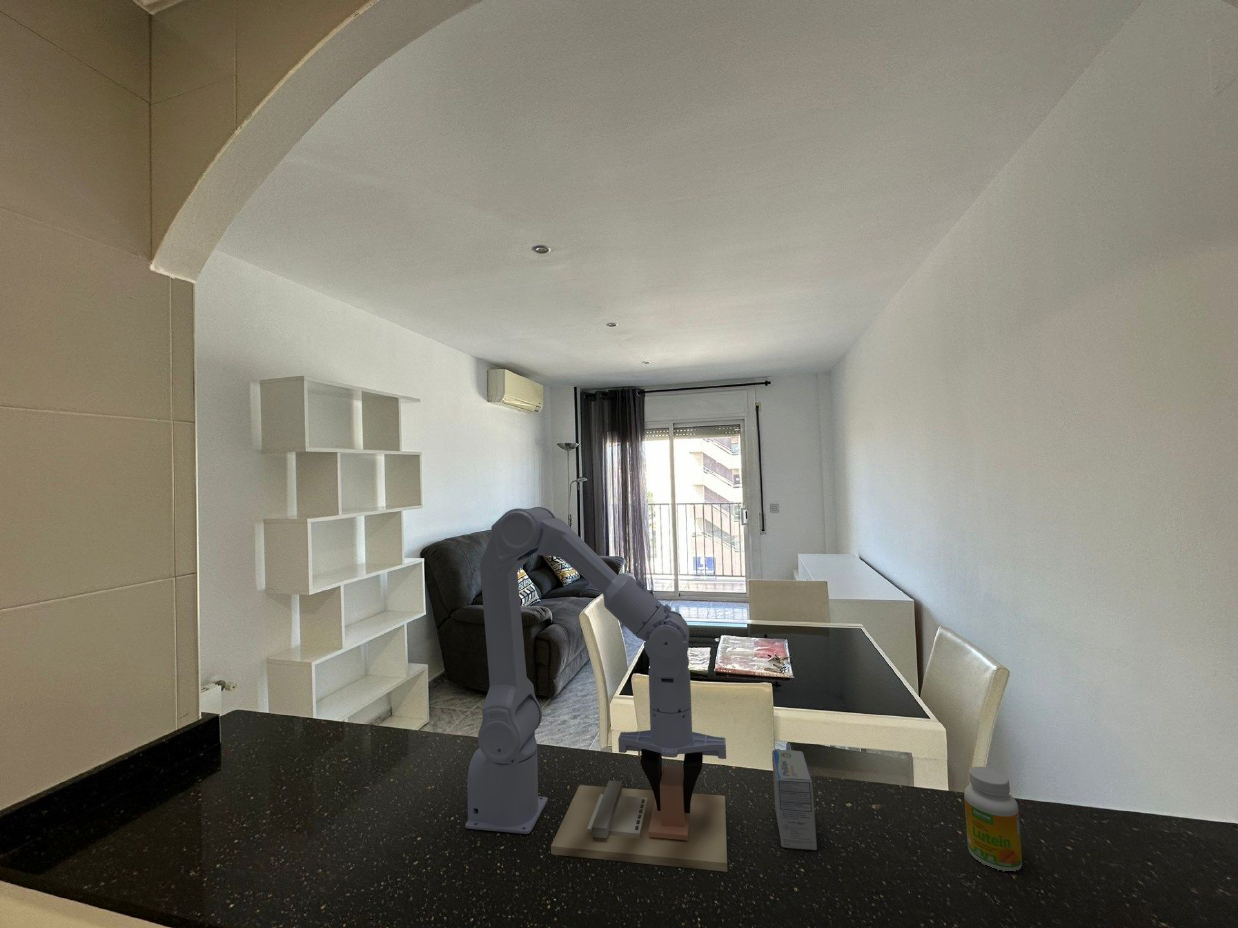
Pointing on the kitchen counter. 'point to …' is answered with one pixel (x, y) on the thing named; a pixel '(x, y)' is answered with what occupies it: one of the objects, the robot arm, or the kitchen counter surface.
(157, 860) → the kitchen counter surface
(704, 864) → the board
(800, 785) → the medicine box
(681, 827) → the stub
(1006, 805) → the supplement bottle
